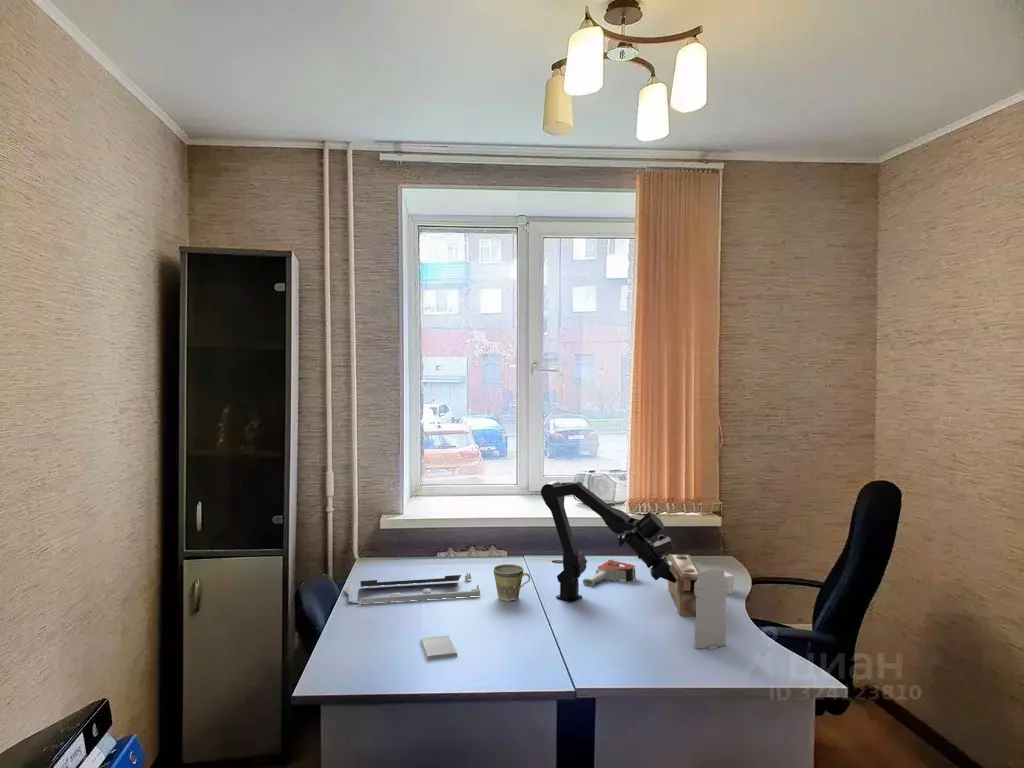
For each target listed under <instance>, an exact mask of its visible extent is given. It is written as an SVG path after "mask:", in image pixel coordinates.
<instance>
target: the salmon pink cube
mask: <svg viewBox="0 0 1024 768" xmlns="http://www.w3.org/2000/svg"><path fill="white" fill-rule="evenodd" d="M676 580H677V581H676V582H675V586H676V589H677V590H678V591H679V576H678V574H676ZM683 591H690V580H684V583H683Z"/></svg>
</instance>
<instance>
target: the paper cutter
mask: <svg viewBox="0 0 1024 768" xmlns="http://www.w3.org/2000/svg"><path fill="white" fill-rule="evenodd" d="M461 577H462V574H455V575H453V574H452V575H444V578H441V577H439V578H425V579H410V580H409V579H408V580H393V581H392V580H391V581H378V580H377V579H372V580H360V588H362V587H364V586H368V587H381V585H384V586H395V585H397V584H400V585H413V583H416V584H427V583H431V582H432V583H445V582H446V583H448V582H458V581H459V580H460V578H461ZM468 579H471V580H472V576H471V572H466V575H464V581H465V580H468ZM353 586H355V585H354V584H348V585H347V586H345V588H344V592H345V593H346V594H347V595H348V603H352V604H355V602H356V601H354V600H352V592H353ZM364 588H365V587H364ZM470 596H480V597H481V590H480V588H479V584H477V585H476V588H471V590H466V591H465V590H464V591H449V592H434V593H432V589H431V588H423V589H422V593H420V594H419V593H418V594H406V595H405V594H402V593H401V592H390V593H389V596H388V595H387V596H376V597H375V596H373V597H360V602H361V603H374V602H391V601H394V602H395V601H410V600H427V599H442V598H456V597H470ZM442 600H443V599H442ZM427 601H428V600H427Z"/></svg>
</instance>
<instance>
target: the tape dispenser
mask: <svg viewBox="0 0 1024 768" xmlns="http://www.w3.org/2000/svg"><path fill="white" fill-rule="evenodd" d="M621 565H623V566H621ZM635 567H636V565H633V564H631V563H626V562H621V561H617V560H614V559H608V560H607V561H605V562H603V563H602V564H601V565H599V566H597V568H596V570H595V574H593V575H591V576H589V577H585V578H584V579H582V583H583V585H584V586H587V585H588V586H587V587H593V586H594V585H595V584H597V583H598V582H600V581H602V580H604V579H606V580H605V581H608V580H620V581H621V580H622V581H623V580H624V581H625V580H626V581H625V582H628V581H630V582H633V581H635V580H634V579H636V580H637V577H636V568H635ZM632 580H633V581H632Z"/></svg>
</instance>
